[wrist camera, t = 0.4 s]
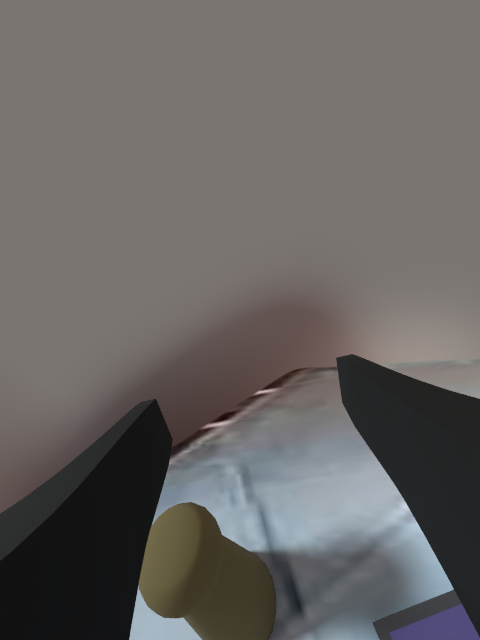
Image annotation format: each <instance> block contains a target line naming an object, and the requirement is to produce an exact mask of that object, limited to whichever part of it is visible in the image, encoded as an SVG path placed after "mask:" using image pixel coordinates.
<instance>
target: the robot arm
mask: <svg viewBox="0 0 480 640" xmlns="http://www.w3.org/2000/svg"><path fill="white" fill-rule="evenodd" d="M336 360H337V367H338V374H339V381H340V389H341V396H342V403H343V405H344V407H345V408H346V410H347V412H348V414H349V416H350V418H351V420H352V422H353V424H354V426H355V427H356V429H357V430H358V432H359V433H360V435H361V436H362V438H363V439H364V440H365V442H366V443H367V445H368V446H369V448H370V449H371V451H372V452H373V454H374V455H375V456H376V458H377V459H378V461H379V462H380V464H381V465H382V467H383V468H384V469H385V471H386V472H387V474H388V475H389V477H390V478H391V480H392V481H393V483H394V484H395V486H396V487H397V489H398V490H399V492H400V493H401V495H402V497H403V498H404V500H405V502H406V503H407V505H408V507H409V509H410V510H411V512H412V514H413V516H414V517H415V519H416V521H417V523H418V524H419V526H420V528H421V530H422V531H423V533H424V535H425V537H426V539H427V540H428V542H429V544H430V546H431V548H432V550H433V551H434V553H435V555H436V557H437V559H438V560H439V562H440V564H441V566H442V568H443V569H444V571H445V573H446V575H447V577H448V579H449V581H450V582H451V584H452V586H453V588H454V590H455V592H456V594H457V596H458V598H459V599H460V601H461V603H462V605H463V607H464V609H465V611H466V613H467V614H468V616H469V618H470V620H471V622H472V624H473V626H474V628H475V630H476V631H477V633H478V635H479V637H480V399H478V398H474V397H471V396H467V395H464V394H460V393H456V392H453V391H450V390H446V389H443V388H440V387H437V386H434V385H431V384H428V383H425V382H422V381H419V380H417V379H414V378H411V377H408V376H406V375H403V374H401V373H398V372H396V371H393V370H391V369H388V368H386V367H383V366H381V365H378V364H376V363H374V362H371V361H369V360H366V359H364V358H361V357H359V356H356V355H353V354H351V355H347V356H342V357H338V358H336ZM171 446H172V437H171V434H170V432H169V430H168V427H167V425H166V422H165V420H164V417H163V415H162V412H161V410H160V408H159V405H158V403H157V400H156V399H153V400H148V401H144V402H141V403H139V404H138V405H137V406H135V407H134V408H133V409H132V410H130V411H129V412H128V413H127V414H126V415H125V416H124V417H122V418H121V419H120V420H119V421H118V422H117V423H116V424H115V425H114V426H112V427H111V428H110V429H109V430H108V431H107V432H106V433H105V434H104V435H102V436H101V437H100V438H99V439H98V440H97V441H96V442H94V443H93V444H92V445H91V446H90V447H88V448H87V449H86V450H85V451H84V452H83V453H81V454H80V455H79V456H78V457H77V458H75V459H74V460H73V461H72V462H71V463H70V464H68V465H67V466H66V467H65V468H63V469H62V470H61V471H60V472H58V473H57V474H56V475H54V476H53V477H52V478H50V479H49V480H48V481H46V482H45V483H44V484H42V485H41V486H40V487H38V488H37V489H36V490H34V491H33V492H32V493H30V494H29V495H27V496H26V497H25V498H23V499H22V500H20V501H19V502H17V503H16V504H14V505H13V506H11V507H10V508H8V509H7V510H5V511H4V512H2V513H1V514H0V640H129V637H130V630H131V624H132V619H133V613H134V607H135V601H136V596H137V590H138V584H139V579H140V574H141V569H142V564H143V559H144V554H145V549H146V545H147V541H148V537H149V533H150V529H151V526H152V522H153V519H154V515H155V512H156V508H157V505H158V501H159V498H160V494H161V491H162V487H163V484H164V480H165V477H166V473H167V469H168V466H169V460H170V454H171Z"/></svg>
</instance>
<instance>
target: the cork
mask: <svg viewBox="0 0 480 640" xmlns="http://www.w3.org/2000/svg"><path fill="white" fill-rule="evenodd" d="M139 590H140V592H141V594H142V596H143V598H144V601H145V602H146V604H147V606H148V607H149V608H150V609H151V610H153V611H154V612H155V613H157V614H158V615H160V616H162V617H164V618H182V617H183V618H184V619H185V620H186V621H187V622H188V623H189V625H190V626H191V627H192V628H193V629H194V630H195V631H196V633H197V634H198V635H199V636H200V637H201V638H202V640H268V639H269V637H270V634H271V632H272V629H273V624H274V619H275V614H276V593H275V589H274V585H273V580H272V577H271V575H270V573H269V571H268V569H267V567H266V565H265V564H264V563H263V562H262V561H261V560H260V559H259V557H258V556H256V555H255V554H253V553H251V552H250V551H248V550H246V549H245V548H243V547H241V546H240V545H238V544H236V543H235V542H233V541H231V540H230V539H228V538H226V537H225V536H223V535H222V534H221V531H220V529H219V526H218V524H217V521H216V519H215V518H214V517H213V516H212V514H211V513H210V512H209V511H208V510H207V509H206V508H205V507H203V506H200V505H197V504H195V503H192V502H189V503H181V504H177V505H175V506H173V507H171V508H169V509H167V510H166V511H165V512H164V513H163V514H161V515H160V516H159V517H158V519H157V520H156V521H155V522H154V524H153V525H152V526H151V529H150V533H149V537H148V541H147V545H146V549H145V554H144V559H143V564H142V569H141V574H140V579H139Z"/></svg>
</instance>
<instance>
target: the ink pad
mask: <svg viewBox="0 0 480 640" xmlns="http://www.w3.org/2000/svg"><path fill="white" fill-rule="evenodd" d="M373 625H374V627H375V629H376V632H377V634H378V637H379V639H380V640H480V637H479V635H478V633H477V631H476V630H475V628H474V626H473V624H472V622H471V620H470V618H469V616H468V614H467V613H466V611H465V609H464V607H463V605H462V603H461V601H460V599H459V598H458V596H457V594H456V592H455V590H452V591H450V592H447V593H445V594H442V595H440V596H437V597H435V598H432V599H430V600H427V601H425V602H422V603H420V604H417V605H415V606H412V607H410V608H407V609H405V610H402V611H400V612H397V613H395V614H392V615H390V616H387V617H385V618H382V619H380V620H377V621H375V622H373Z"/></svg>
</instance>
